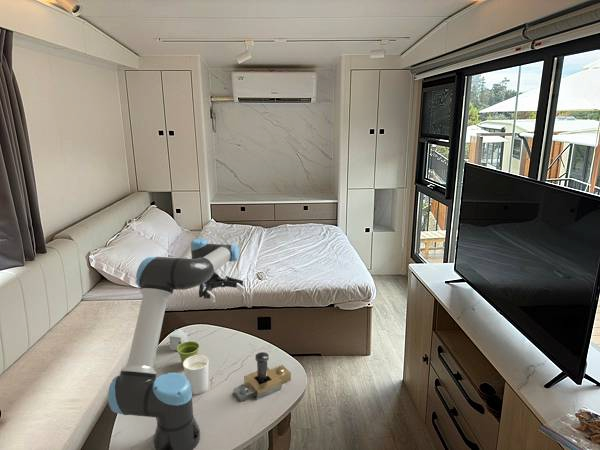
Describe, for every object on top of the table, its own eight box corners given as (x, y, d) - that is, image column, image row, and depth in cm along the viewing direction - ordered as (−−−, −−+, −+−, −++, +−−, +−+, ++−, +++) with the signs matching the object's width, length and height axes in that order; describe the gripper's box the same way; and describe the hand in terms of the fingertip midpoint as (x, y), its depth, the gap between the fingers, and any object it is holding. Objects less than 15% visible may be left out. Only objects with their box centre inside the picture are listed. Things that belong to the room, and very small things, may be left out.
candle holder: (180, 391, 166) (177, 365, 163) (196, 377, 174) (194, 352, 171) (199, 399, 162) (197, 372, 158) (215, 384, 170) (213, 359, 167)
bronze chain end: (257, 399, 162) (257, 389, 161) (244, 383, 170) (243, 375, 169) (293, 382, 171) (293, 374, 170) (279, 369, 180) (279, 360, 179)
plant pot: (197, 371, 179) (196, 353, 176) (175, 370, 179) (174, 353, 176) (203, 358, 188) (201, 341, 185) (182, 358, 188) (180, 341, 185)
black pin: (260, 392, 166) (259, 361, 162) (254, 385, 170) (253, 355, 166) (271, 387, 169) (271, 356, 165) (265, 380, 173) (264, 350, 169)
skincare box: (170, 349, 194) (168, 335, 192) (176, 342, 200) (175, 329, 198) (182, 351, 193) (180, 337, 191) (188, 344, 198) (187, 330, 196)
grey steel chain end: (243, 405, 159) (243, 398, 158) (230, 389, 167) (230, 383, 166) (281, 388, 168) (281, 382, 167) (267, 374, 177) (267, 368, 176)
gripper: (234, 279, 197) (256, 295, 180) (182, 292, 183) (201, 311, 166) (233, 264, 195) (256, 279, 178) (181, 276, 181) (200, 294, 164)
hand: (229, 295), depth 172 cm, fingers open, 13 cm apart
